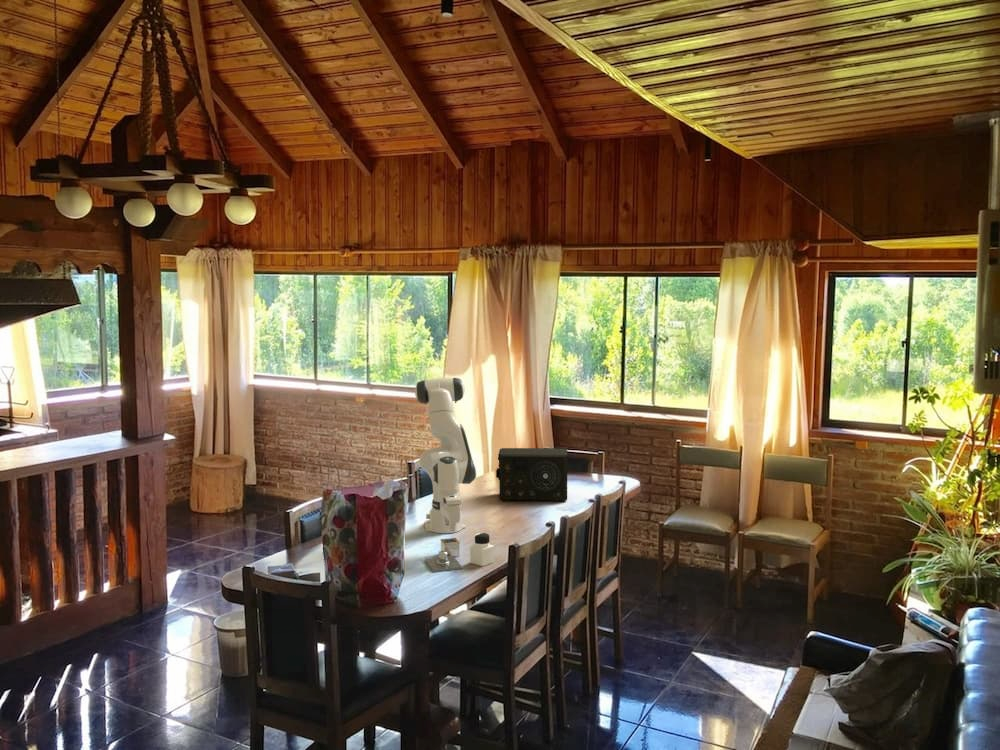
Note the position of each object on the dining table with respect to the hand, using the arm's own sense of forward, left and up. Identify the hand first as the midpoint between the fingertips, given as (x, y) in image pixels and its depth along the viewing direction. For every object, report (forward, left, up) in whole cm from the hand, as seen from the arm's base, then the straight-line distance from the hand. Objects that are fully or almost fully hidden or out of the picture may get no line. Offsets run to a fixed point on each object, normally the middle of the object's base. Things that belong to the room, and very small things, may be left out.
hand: (449, 528), depth 365 cm
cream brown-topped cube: (-1, 0, -12) cm, 12 cm away
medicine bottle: (+13, +10, -12) cm, 21 cm away
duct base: (+11, -6, -12) cm, 17 cm away
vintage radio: (-77, +64, -12) cm, 101 cm away
